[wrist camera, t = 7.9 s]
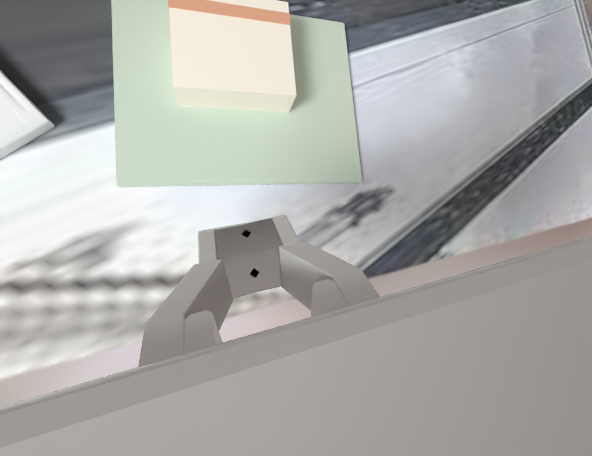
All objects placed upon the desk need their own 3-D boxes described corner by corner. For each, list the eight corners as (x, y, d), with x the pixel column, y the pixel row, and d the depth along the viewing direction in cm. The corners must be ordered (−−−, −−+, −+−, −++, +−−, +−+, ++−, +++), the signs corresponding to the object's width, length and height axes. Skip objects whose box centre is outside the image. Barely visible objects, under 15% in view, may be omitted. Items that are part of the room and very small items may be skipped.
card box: (172, 85, 19) (167, -19, 19) (178, 106, 21) (173, 13, 22) (297, 95, 21) (288, 1, 22) (289, 112, 24) (281, 29, 24)
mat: (118, 187, 20) (116, 186, 19) (113, -9, 21) (111, -14, 21) (360, 182, 25) (362, 181, 25) (342, 26, 27) (344, 23, 26)
